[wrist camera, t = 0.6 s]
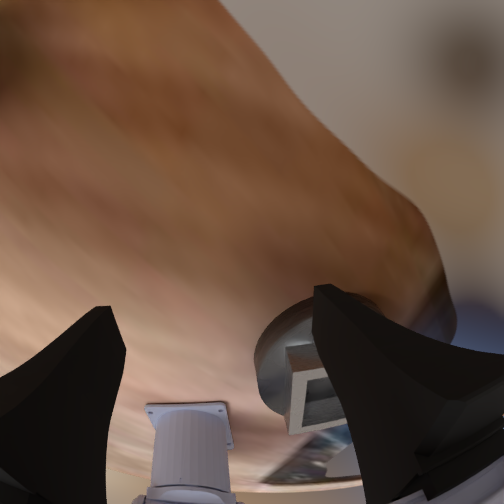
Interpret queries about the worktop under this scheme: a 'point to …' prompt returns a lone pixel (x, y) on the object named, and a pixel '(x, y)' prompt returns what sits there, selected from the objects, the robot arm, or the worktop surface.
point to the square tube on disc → (298, 371)
